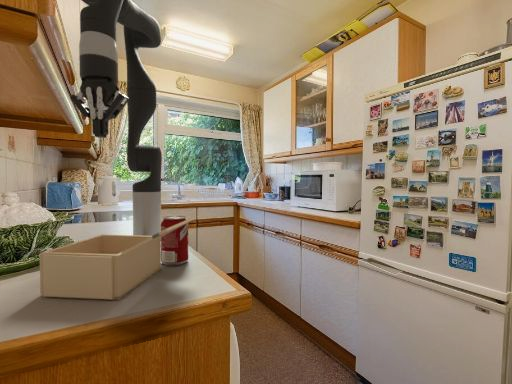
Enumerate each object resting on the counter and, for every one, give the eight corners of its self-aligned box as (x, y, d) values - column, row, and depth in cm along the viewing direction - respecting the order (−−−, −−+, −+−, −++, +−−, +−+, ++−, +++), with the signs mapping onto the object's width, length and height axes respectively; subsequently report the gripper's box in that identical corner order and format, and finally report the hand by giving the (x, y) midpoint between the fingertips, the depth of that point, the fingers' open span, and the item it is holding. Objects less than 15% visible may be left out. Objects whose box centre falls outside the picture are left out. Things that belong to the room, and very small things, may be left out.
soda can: (174, 268, 66) (174, 219, 65) (155, 264, 69) (154, 217, 68) (193, 261, 72) (193, 216, 71) (175, 257, 75) (174, 214, 74)
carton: (101, 266, 67) (100, 234, 67) (161, 268, 66) (161, 235, 65) (35, 297, 49) (34, 253, 49) (117, 301, 48) (116, 256, 47)
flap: (160, 234, 64) (194, 216, 63) (161, 236, 64) (195, 218, 63) (120, 252, 48) (166, 228, 47) (122, 255, 48) (167, 231, 47)
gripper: (136, 66, 64) (136, 139, 65) (83, 67, 66) (84, 140, 66) (117, 50, 57) (118, 134, 58) (58, 53, 58) (60, 134, 59)
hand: (100, 137), depth 62 cm, fingers closed
